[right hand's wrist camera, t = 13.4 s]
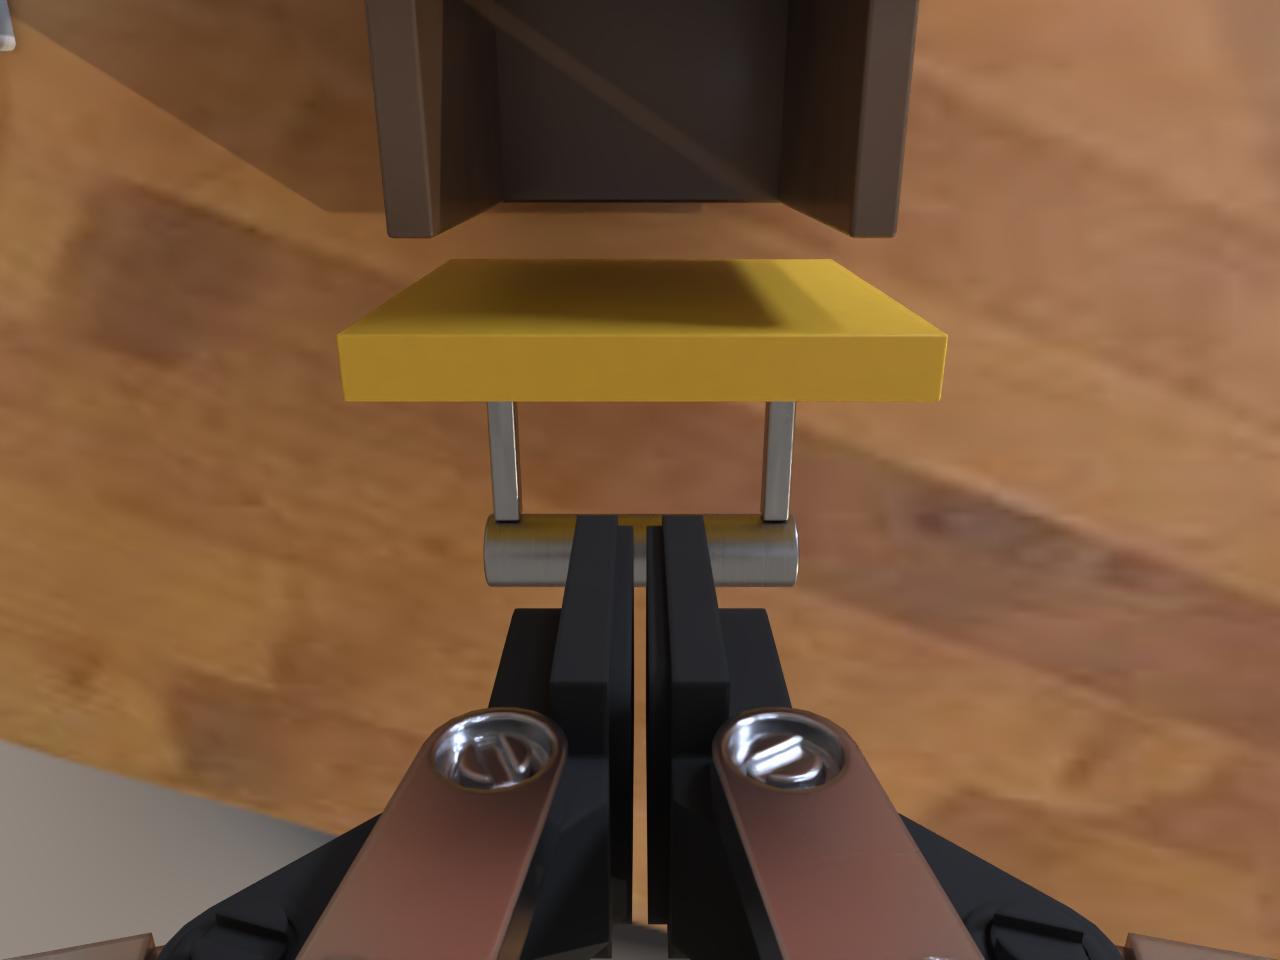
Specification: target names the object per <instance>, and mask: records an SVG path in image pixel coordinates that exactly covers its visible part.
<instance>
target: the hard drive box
mask: <svg viewBox="0 0 1280 960" xmlns="http://www.w3.org/2000/svg"><path fill="white" fill-rule="evenodd" d="M15 46H16V42H15V37H14V32H13V27H12V22H11V17H10V13H9V8H8V4H7V0H0V51H12V50H13V49H14V48H15Z"/></svg>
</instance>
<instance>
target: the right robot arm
mask: <svg viewBox="0 0 1280 960" xmlns="http://www.w3.org/2000/svg"><path fill="white" fill-rule="evenodd" d="M633 771H634V527H633V526H618V515H577V519H576V525H575V531H574V537H573V543H572V549H571V555H570V561H569V567H568V573H567V579H566V585H565V591H564V598H563V604H562V608H517V609H515V610H514V613H513V616H512V619H511V623H510V627H509V631H508V634H507V638H506V642H505V646H504V649H503V653H502V657H501V661H500V664H499V668H498V672H497V676H496V679H495V683H494V687H493V691H492V695H491V698H490V702H489V706H488V708H486V709H481V710H475V711H471V712H468V713H466V714H463V715H461V716H458V717H455V718H453V719H451V720H449V721H448V722H446V723H445V724H443V725H442V726H440V727H439V728H437V729H436V730H435V731H434V732H433V733H432V734H431V735H430V737H429V738H428V739H427V740H426V741H425V742H424V744H423V745H422V747H421V749H420V750H419V752H418V754H417V755H416V757H415V759H414V760H413V762H412V764H411V765H410V767H409V769H408V771H407V772H406V774H405V776H404V777H403V779H402V781H401V782H400V784H399V786H398V787H397V789H396V791H395V792H394V794H393V796H392V797H391V799H390V801H389V802H388V804H387V806H386V807H385V809H384V811H383V812H382V813H381V814H379V815H377V816H375V817H373V818H372V819H370V820H368V821H366V822H364V823H363V824H361V825H359V826H357V827H355V828H354V829H352V830H350V831H348V832H346V833H344V834H343V835H341V836H339V837H337V838H335V839H334V840H332V841H330V842H328V843H327V844H325V845H323V846H321V847H319V848H317V849H316V850H314V851H312V852H310V853H308V854H307V855H305V856H303V857H301V858H299V859H298V860H296V861H294V862H292V863H290V864H288V865H287V866H285V867H283V868H281V869H279V870H278V871H276V872H274V873H272V874H270V875H269V876H267V877H265V878H263V879H261V880H259V881H258V882H256V883H254V884H252V885H250V886H249V887H247V888H245V889H243V890H241V891H240V892H238V893H236V894H234V895H232V896H231V897H229V898H227V899H225V900H223V901H221V902H220V903H218V904H216V905H214V906H212V907H211V908H209V909H208V910H206V911H205V912H203V913H202V914H200V915H199V916H197V917H196V918H194V919H193V920H191V921H190V922H188V923H187V924H186V925H184V926H183V927H182V928H181V929H180V930H179V931H178V932H177V933H176V934H175V936H174V937H173V938H172V939H171V940H170V941H169V942H168V943H167V944H166V945H163V946H158V947H155V944H154V940H153V936H152V933H147V934H141V935H136V936H130V937H125V938H120V939H114V940H108V941H103V942H97V943H92V944H86V945H81V946H75V947H70V948H65V949H59V950H53V951H48V952H42V953H37V954H32V955H26V956H20V957H15V958H9V959H4V960H589V959H591V958H612V929H613V924H632V868H633ZM646 771H647V868H648V924H667V930H668V958H689V959H691V960H1276V959H1271V958H1265V957H1260V956H1254V955H1249V954H1243V953H1238V952H1232V951H1227V950H1221V949H1216V948H1210V947H1205V946H1199V945H1194V944H1188V943H1183V942H1177V941H1172V940H1166V939H1161V938H1155V937H1150V936H1144V935H1139V934H1133V933H1128V936H1127V940H1126V944H1125V947H1122V946H1117V945H1114V944H1113V943H1112V942H1111V941H1110V940H1109V939H1108V938H1107V937H1106V935H1105V934H1104V933H1103V932H1102V931H1101V930H1100V929H1099V928H1098V927H1097V926H1096V925H1094V924H1093V923H1092V922H1090V921H1089V920H1087V919H1086V918H1084V917H1083V916H1081V915H1080V914H1078V913H1077V912H1075V911H1074V910H1072V909H1071V908H1069V907H1068V906H1066V905H1064V904H1062V903H1060V902H1059V901H1057V900H1055V899H1053V898H1051V897H1049V896H1048V895H1046V894H1044V893H1042V892H1040V891H1039V890H1037V889H1035V888H1033V887H1031V886H1030V885H1028V884H1026V883H1024V882H1022V881H1021V880H1019V879H1017V878H1015V877H1013V876H1011V875H1010V874H1008V873H1006V872H1004V871H1002V870H1001V869H999V868H997V867H995V866H993V865H992V864H990V863H988V862H986V861H984V860H983V859H981V858H979V857H977V856H975V855H974V854H972V853H970V852H968V851H966V850H964V849H963V848H961V847H959V846H957V845H955V844H954V843H952V842H950V841H948V840H946V839H945V838H943V837H941V836H939V835H937V834H936V833H934V832H932V831H930V830H928V829H926V828H925V827H923V826H921V825H919V824H917V823H916V822H914V821H912V820H910V819H908V818H907V817H905V816H903V815H901V814H899V813H898V812H897V811H896V809H895V807H894V806H893V804H892V802H891V801H890V799H889V797H888V796H887V794H886V792H885V791H884V789H883V787H882V786H881V784H880V782H879V781H878V779H877V777H876V776H875V774H874V772H873V771H872V769H871V767H870V765H869V764H868V762H867V760H866V759H865V757H864V755H863V754H862V752H861V750H860V749H859V747H858V745H857V744H856V742H855V741H854V740H853V739H852V738H851V737H850V735H849V734H848V733H847V732H846V731H845V730H844V729H843V728H841V727H840V726H838V725H837V724H835V723H834V722H832V721H831V720H829V719H827V718H825V717H822V716H819V715H817V714H814V713H812V712H809V711H805V710H799V709H794V708H792V706H791V702H790V698H789V695H788V691H787V687H786V683H785V679H784V676H783V672H782V668H781V664H780V661H779V657H778V653H777V649H776V646H775V642H774V638H773V634H772V631H771V627H770V623H769V619H768V616H767V613H766V610H765V609H763V608H718V604H717V598H716V591H715V585H714V579H713V573H712V567H711V561H710V555H709V549H708V543H707V537H706V531H705V525H704V519H703V515H662V526H647V527H646Z"/></svg>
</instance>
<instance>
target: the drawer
mask: <svg viewBox="0 0 1280 960" xmlns="http://www.w3.org/2000/svg"><path fill="white" fill-rule="evenodd" d="M365 7H366V18H367V28H368V38H369V49H370V59H371V69H372V80H373V90H374V100H375V111H376V121H377V131H378V142H379V152H380V162H381V173H382V183H383V193H384V204H385V214H386V224H387V233H388V235H389V237H391V238H432V237H434V236H436V235H438V234H440V233H442V232H444V231H446V230H448V229H450V228H452V227H454V226H456V225H458V224H460V223H462V222H464V221H466V220H468V219H470V218H472V217H474V216H476V215H478V214H480V213H482V212H484V211H486V210H488V209H490V208H492V207H495V206H497V205H499V204H501V203H782V204H784V205H787V206H789V207H791V208H793V209H795V210H797V211H799V212H801V213H803V214H805V215H807V216H809V217H811V218H813V219H815V220H817V221H820V222H822V223H824V224H826V225H828V226H830V227H832V228H834V229H836V230H838V231H840V232H842V233H844V234H846V235H848V236H851V237H853V238H892V237H894V236H895V234H896V232H897V221H898V211H899V201H900V191H901V181H902V171H903V160H904V150H905V140H906V130H907V120H908V110H909V99H910V89H911V79H912V69H913V59H914V49H915V39H916V28H917V18H918V8H919V0H365ZM947 341H948V336H947V334H945V333H943V332H942V331H940V330H939V329H937V328H936V327H934V326H933V325H931V324H930V323H928V322H927V321H925V320H924V319H922V318H920V317H919V316H917V315H916V314H914V313H913V312H911V311H910V310H908V309H907V308H905V307H904V306H902V305H901V304H899V303H898V302H896V301H894V300H893V299H891V298H890V297H888V296H887V295H885V294H884V293H882V292H881V291H879V290H878V289H876V288H875V287H873V286H871V285H870V284H868V283H867V282H865V281H864V280H862V279H861V278H859V277H858V276H856V275H855V274H853V273H852V272H850V271H848V270H847V269H845V268H844V267H842V266H841V265H839V264H838V263H836V262H835V261H833V260H831V259H451V260H449V261H448V262H446V263H445V264H443V265H442V266H440V267H439V268H437V269H436V270H434V271H433V272H431V273H430V274H428V275H427V276H425V277H423V278H422V279H420V280H419V281H417V282H416V283H414V284H413V285H411V286H410V287H408V288H407V289H405V290H404V291H402V292H401V293H399V294H398V295H396V296H395V297H393V298H392V299H390V300H389V301H387V302H386V303H384V304H383V305H381V306H380V307H378V308H377V309H375V310H374V311H372V312H371V313H369V314H367V315H366V316H364V317H363V318H361V319H360V320H358V321H357V322H355V323H354V324H352V325H351V326H349V327H348V328H346V329H345V330H343V331H342V332H340V333H339V334H337V335H336V342H337V350H338V359H339V367H340V375H341V383H342V392H343V399H344V401H487V413H488V429H489V445H490V460H491V476H492V492H493V508H494V514H491V515H489V517H488V519H487V522H486V527H485V534H484V571H485V577H486V581H487V584H488V585H489V586H490V587H565V585H566V579H567V573H568V567H569V561H570V555H571V549H572V543H573V537H574V531H575V525H576V519H577V515H618V526H633V527H634V587H646V527H647V526H662V515H703V519H704V525H705V531H706V537H707V543H708V549H709V555H710V561H711V567H712V573H713V579H714V585H715V587H792V586H794V585H795V583H796V580H797V576H798V569H799V536H798V528H797V523H796V520H795V517H794V516H793V515H791V514H789V505H790V490H791V474H792V459H793V443H794V427H795V412H796V402H937V401H940V398H941V389H942V381H943V373H944V365H945V357H946V349H947ZM517 401H582V402H766V409H765V429H764V448H763V467H762V487H761V506H760V511H761V514H521V513H522V491H521V471H520V451H519V432H518V412H517Z"/></svg>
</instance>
